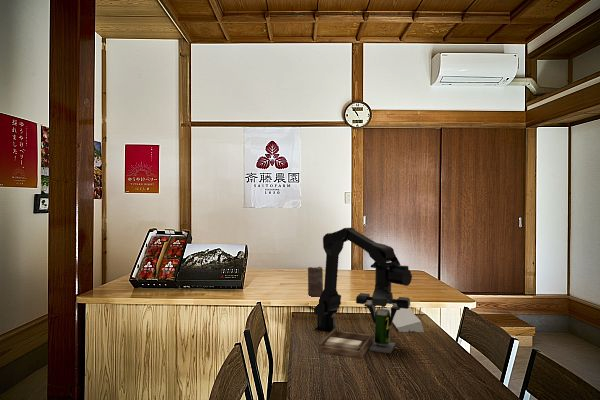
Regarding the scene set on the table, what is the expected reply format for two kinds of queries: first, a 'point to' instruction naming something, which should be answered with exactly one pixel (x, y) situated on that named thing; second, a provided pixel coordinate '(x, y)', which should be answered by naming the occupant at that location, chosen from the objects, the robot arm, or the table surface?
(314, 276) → the dark brown tall block
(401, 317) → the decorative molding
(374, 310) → the robot arm
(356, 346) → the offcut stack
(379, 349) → the grey rubber mat
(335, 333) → the wooden tray
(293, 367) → the table surface
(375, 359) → the table surface
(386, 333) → the beer can
